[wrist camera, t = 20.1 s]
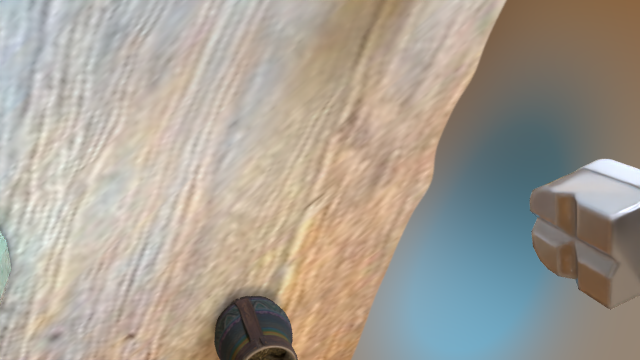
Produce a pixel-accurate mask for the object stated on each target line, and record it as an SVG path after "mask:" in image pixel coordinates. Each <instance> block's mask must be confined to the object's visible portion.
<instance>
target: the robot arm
mask: <svg viewBox="0 0 640 360" xmlns="http://www.w3.org/2000/svg"><path fill="white" fill-rule="evenodd" d="M530 211H531V212H532V213H533V214H534V215H535V216H536V217H537V221H536V223H535V225H534V227H533V229H532V240H533V247H534V249H535V251H536V253H537V255H538V257H539V259H540V261H541V262H542V263H543V264H544V265H545V266H546V267H547V268H548V269H549V270H550V271H552V272H553V273H555V274H556V275H558V276H561V277H566V278H572V279H576V283H577V286H578V289H579V290H581V291H582V292H584V293H585V294H587V295H588V296H590V297H591V298H593V299H595V300H596V301H598V302H599V303H601V304H602V305H604V306H605V307H607V308H609V309H610V310H611V309H613V308H615V307H617V306H619V305H621V304H623V303H625V302H627V301H629V300H631V299H633V298H635V297H637V296H640V169H637V168H634V167H631V166H628V165H625V164H622V163H619V162H617V161H614V160H611V159H599V160H597V161H594V162H592V163H591V164H588V165H586V166H584V167H582V168H579V169H578V170H577V171H575V172H573V173H571V174H568V175H566V176H564V177H562V178H559V179H557V180H555V181H552V182H550V183H548V184H546V185H543V186H541V187H539V188H536V189H534V190H533V191H532V194H531V197H530Z"/></svg>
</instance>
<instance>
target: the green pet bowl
mask: <svg viewBox="0 0 640 360" xmlns="http://www.w3.org/2000/svg"><path fill="white" fill-rule="evenodd" d="M10 271H11V265H10V258H9V252H8V245H7V242H6V240H5V238H4V237H3V235H2V233H1V232H0V305H1V302H2V300H3V297H4V294H5V291H6V287H7V283H8V279H9V275H10Z"/></svg>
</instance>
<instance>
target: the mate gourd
mask: <svg viewBox="0 0 640 360" xmlns="http://www.w3.org/2000/svg"><path fill="white" fill-rule="evenodd" d="M215 329H216V330H215V341H214V342H215V348H216V352H217V354H218V357H219V359H220V360H298V359H297V355H296V353H295V351H294V349H293V347H292V346H291V345H292V334H293V333H292V328H291V324H290V321H289V319H288V317H287V315H286V313H285V312H284V311H283V310H282V309H281V308H280V307H279V306H278V305H277V304H275V303H274V302H273V301H271V300H270V299H268V298H266V297H262V296H245V297H242V298H240V299H236V300H235V301H233V302H232V303H231V304H230V305H229V306H228V307H227V308H226V309H225V310H224V311H223V312H222V313H221V315H220V316H219V318H218V320H217V323H216V328H215Z"/></svg>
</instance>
